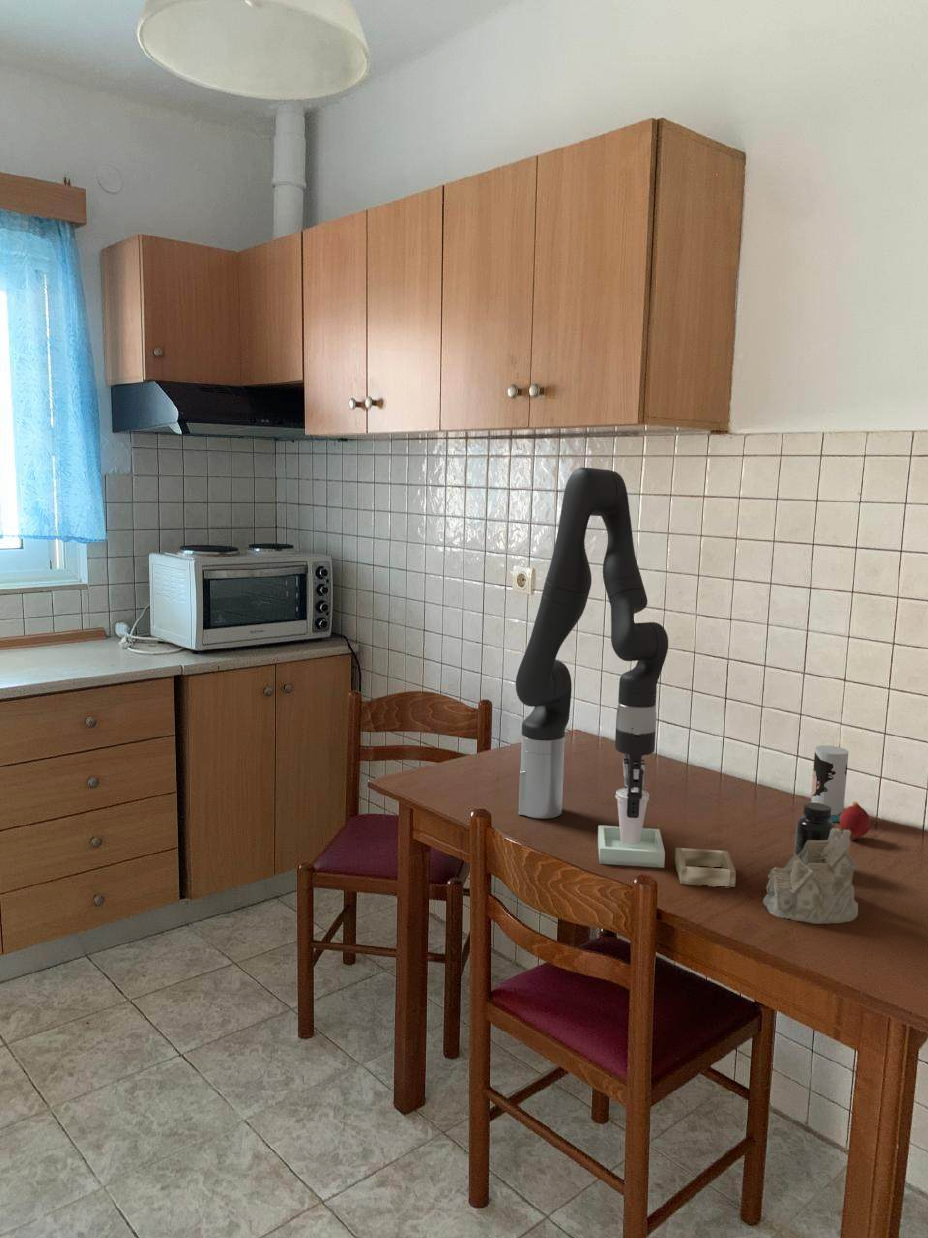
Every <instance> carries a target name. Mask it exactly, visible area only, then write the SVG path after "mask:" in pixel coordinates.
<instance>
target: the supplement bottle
mask: <svg viewBox="0 0 928 1238" xmlns="http://www.w3.org/2000/svg"><path fill="white" fill-rule="evenodd" d="M802 815H803V816H801V817H799V819H798V820H797V822H796V827H795V828H796V829H795V841H794V851H793V852H794V853H793V855H794V854H797V855H798V854H799V853H800V852H801V850H802V849H803V848H804V846H805V843H806V842H807V840H828V838H829V834H830V830H831V829H832V828H836V826H835V823H834V822H831V821H830V820H829V819H831V807H829V806H827V805H825V804H821V803H813V802H812V803H811V802H806V803H804V805H803V811H802Z"/></svg>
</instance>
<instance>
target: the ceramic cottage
mask: <svg viewBox="0 0 928 1238" xmlns="http://www.w3.org/2000/svg"><path fill="white" fill-rule="evenodd" d="M841 830H842V829H839V828H836V827H835V828H832V829H831V830H830V834H829V838H828V840H807V842H806V843H805V846H804V848H803V849H802V850H801V852H800V853H799V854H798V855H797V854H794V853H793V856H791V857H790V860H788V862H787V864H786V865H785V866H784V867H783V868H782V867H780V868H779V867H776V866H775V867H774V868H772V869H771V870H770V872H769V874H768V875H767V878H768V879H769V880H768V882H767V885H766V887H765V889H766V894H765V896H764V898H763V900H762V903H763V905H764V906H765V907H766V908H767V911H768V912H769V914H771V915H773V916H775V917H777V918H781V919H787V920H788V919H790V920H792V921H797V922H798V921H800V922H805V923H809V924H815V925H816V924H821V925H822V924H823V925H824V924H828V925H829V924H841V923H848V922H851V921H854V920H855V919H856V918H857V917H858V914H859V903H858V902H857V901H856V900H855V887H854V884H853V877H854V871H855V870H857V869H856V868H857V867H858V866H857V863H856V861H855V860H854V859H853V858H852V857H851V855H850V852H849V850H850V847H851V839H850V838H849V837H850V834H851V831H850V830H844V831H843V830H842V831H841Z"/></svg>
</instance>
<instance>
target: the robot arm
mask: <svg viewBox="0 0 928 1238" xmlns="http://www.w3.org/2000/svg"><path fill="white" fill-rule="evenodd" d="M560 509H561V510H560V517H559V522H558V528H557V533H556V539H555V543H554V548H553V551H552V556H551V560H550V564H549V568H548V571H547V573H546V577H545V581H544V584H543V588H542V589H543V590H542V593H541V597H540V602H539V606H538V609H537V613H536V616H535V621H534V624H533V628H532V632H531V634H530V638H529V641H528V643H527V647H526V649H525V652H524V654H523V657H522V659H521V661H520V665H519V667H518V670H517V674H516V678H515V692H516V695H517V697H518V699H519V700H520V702H521V703H522V704H523V705H525V706H527V707H529V708H530V707H533V710H532V711H531V712H530V714H529V715H528V716H527V717H526V718H525V719H524V720H523V721H522V723H521V743H520V744H521V745H520V746H521V747H520V750H521V751H520V770H519V789H518V790H519V791H518V815H521V816H526V817H529V818H533V819H553V818H556V817H558V816H560V815H562V813H563V794H564V793H563V792H564V791H563V788H564V785H563V784H564V764H565V763H564V762H565V760H564V759H565V758H564V757H565V736H566V735H565V734H566V733H565V732H566V728H567V726H568V723H569V720H570V711H571V701H572V700H571V699H572V692H573V691H572V689H573V687H572V677H571V672H570V670H569V669H568V667H567V665H566V664H565V663H564V662H562V661H560V660H558V659H556V658H557V656H558V653H559V650H560V648H561V646H562V644H563V643H564V642H565V640H566V639H567V637H568V636H569V635H570V633H572V630H574V628H575V626H577V623H578V622H579V620H580V619H581V617H582V615H583V613H584V611H585V609H586V605H587V602H588V598H589V594H590V590H591V587H592V572H591V567H590V564H589V560H588V555H587V552H586V547H585V538H586V532H587V530H588V529H587V528H588V525H589V521H590V517H592V516H593V517H601V519H602V521H603V523H604V525H605V528H606V529H605V530H606V532H607V546H606V551H605V554H604V559H603V565H602V578H603V583H604V587H605V591H606V594H607V598H608V601H609V605H610V642H611V647H612V650H613V651H614V653H615V654H616V656H617V657H618V658H619V659H621V660H622V661H625V662H635V661H637V662H636V664H635V666H634V668H633V669H630V670H627V671H626V672H624V673H622V674H621V675H620V678H619V682H618V683H619V684H618V699H617V702H618V703H617V707H616V708H617V710H616V716H615V717H616V718H615V736H614V737H615V738H614V748H615V750H616V751H617V752H618V753H620V754H623V755H625V757H623V759H622V766H623V768H622V769H623V770H622V771H623V773H622V775H623V778H624V781H623V783H624V788H627V799H628V800H627V817H629V818H638V817H639V803H640V799H641V798H642V790H643V786H644V782H645V781H644V780H645V778H644V777H645V774H644V773H645V771H646V763H645V758H642V757H643V756H649V755H652V754H653V753H654V752H655V749H656V738H657V737H656V733H657V731H656V730H657V689H658V688H657V687H658V683H659V679H660V676H661V673H662V671H663V667H664V664H665V661H666V657H667V655H668V651H669V636H668V633H667V631H666V629H665V628H664V627H663V626H662V624H660V623H659V622H656V621H655V622H654V621H649V622H648V621H647V622H645V621H644V622H635V617H634V615H635V614H637V613H640V612H641V611H643V610H645V609H646V608H647V607H648V597H647V593H646V589H645V586H644V583H643V580H642V576H641V573H640V569H639V565H638V561H637V556H636V552H635V545H634V538H633V527H632V520H631V513H630V503H629V496H628V490H627V486H626V483H625V480H624V478H623V477H622V475H621V474H620V473H618V472H617V471H613V470H611V469H605V468H604V469H602V468H594V467H578V468H577V469H575V470H573V471H572V473H571V474H570V475H569V478H568V479H567V482H566V485H565V488H564V491H563V497H562V502H561V508H560ZM634 787H636V788H637V789H638V792H631V788H634Z"/></svg>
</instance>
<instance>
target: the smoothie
mask: <svg viewBox="0 0 928 1238" xmlns="http://www.w3.org/2000/svg"><path fill="white" fill-rule="evenodd" d="M615 791H616V792H615V799H616V800H617V811H618V813H617V815H618V824H619V826H618V827H620V840H621V842H622V843H625V844H629V845H636V844H639V843H640V838H641V833H642V828H644V820H645V815H646V809H647V803H648V801H650V794H649V792H648V791H646V790H644V789H642V798H641V799H640V803H639V817H638V818H629V817H627V800H628V799H627V788H625V787H623V788H620V789H617V790H615ZM631 792H638V788H636V787H634V788H631Z"/></svg>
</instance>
